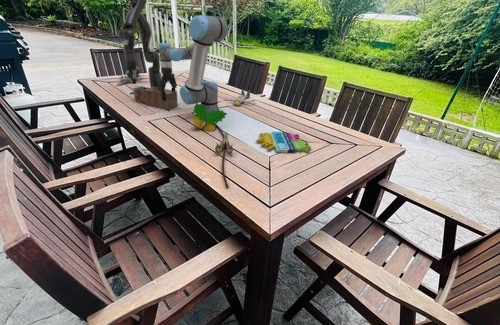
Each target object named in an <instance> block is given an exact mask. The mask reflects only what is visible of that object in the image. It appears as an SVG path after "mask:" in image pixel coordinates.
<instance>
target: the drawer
mask: <svg viewBox="0 0 500 325" xmlns="http://www.w3.org/2000/svg"><path fill="white" fill-rule="evenodd" d="M148 88H149V87H147V86H144V85H140V86H136V87H133V88H132V92H130V93H129V95H133V99H134V100H133V101H134V102H141V103H145V95H144V89H148Z"/></svg>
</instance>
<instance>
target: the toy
mask: <svg viewBox="0 0 500 325" xmlns="http://www.w3.org/2000/svg"><path fill="white" fill-rule="evenodd" d="M240 92H241V93H240V95H238V96H237V97H235V99H233V98H230V99H228V98H227V97H226V96H225V97H224V98H223V101H224V102H233V103H232V104H233V105H235V106H242V103H243V104H247V105H252V106H255V105H256V104H257V103H256V102H254V101H253V100H252V101H251V102H250V101H248V100H246V99H248V98H250V97H251V90H250V89H249V90H248V91H247V92H246V93H245V91H244V89H242V90H241V91H240Z"/></svg>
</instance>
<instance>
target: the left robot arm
mask: <svg viewBox="0 0 500 325" xmlns="http://www.w3.org/2000/svg"><path fill="white" fill-rule="evenodd" d="M129 3H130V6H131V10H130V11H129V12H128V13H127V15H126V17H125V20H124V23H123V24H121V26H120V28H119V29H118V34H117V35H118V37H119V39H121V40H122V41H127V43H124V44H123V46H122V47H123V53H124V62H125V67H126V71H124V74H125V76H128V77H129V78H131V79H132V82H131V84H133V85H136V84H137V80H136V78H137V77H138V75H140V71H141V70H140V69H139V70H138V63H137V56H136V52H135V40H136V34H135V32H134V30H135V29H136V26H137V30H138V34H139V37H140V41H141V45H142V51H143V52H142V53H143V57H144V60H145V61H146V63H150V64H152V66H149V67H148V69H147V71H148V78H149V88H151V87H158V88H159V82H160V76H162V73H161V64H160V55H159V51H158V52H157V51H153V50H151V49H150V42H151V39H152V35H153V34H152V28H151V24H150V22H149V21H148V20H147V18H146V17H145V15H144V14H143V13H142V12H143V10H144V9H145V7H146V5H147V0H129Z"/></svg>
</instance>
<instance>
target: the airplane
mask: <svg viewBox="0 0 500 325" xmlns="http://www.w3.org/2000/svg"><path fill="white" fill-rule="evenodd" d="M137 69H138V70H140V67H139V66H137ZM116 76H118V77H120V78H119V80H120V81H118V82H117V83H116V84H115V85H114V86H115V87H116V86H117V87H119V86H122V85H124V84H127V83H132V79H131V78H129V77H128V76H127V75H121V74H117V75H116ZM142 77H143V79H144V80H145V79H146V80H147V79H148V77H145V74H139V75H138V77H137V78H136V81H137V82H140V81H142Z"/></svg>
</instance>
